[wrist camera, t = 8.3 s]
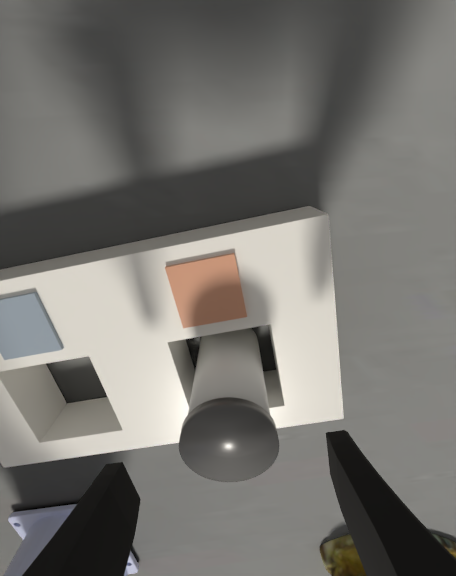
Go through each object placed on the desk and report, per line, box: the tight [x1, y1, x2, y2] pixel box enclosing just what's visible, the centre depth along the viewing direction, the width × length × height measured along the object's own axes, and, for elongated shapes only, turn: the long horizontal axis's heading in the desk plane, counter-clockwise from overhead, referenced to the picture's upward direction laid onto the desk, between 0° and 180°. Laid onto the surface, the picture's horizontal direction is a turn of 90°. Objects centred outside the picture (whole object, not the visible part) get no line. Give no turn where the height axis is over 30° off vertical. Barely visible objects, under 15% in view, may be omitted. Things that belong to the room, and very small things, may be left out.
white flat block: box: [0, 206, 344, 468], centre depth 16 cm, size 11×20×3 cm, turn 102°
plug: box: [179, 328, 279, 482], centre depth 14 cm, size 4×4×7 cm
